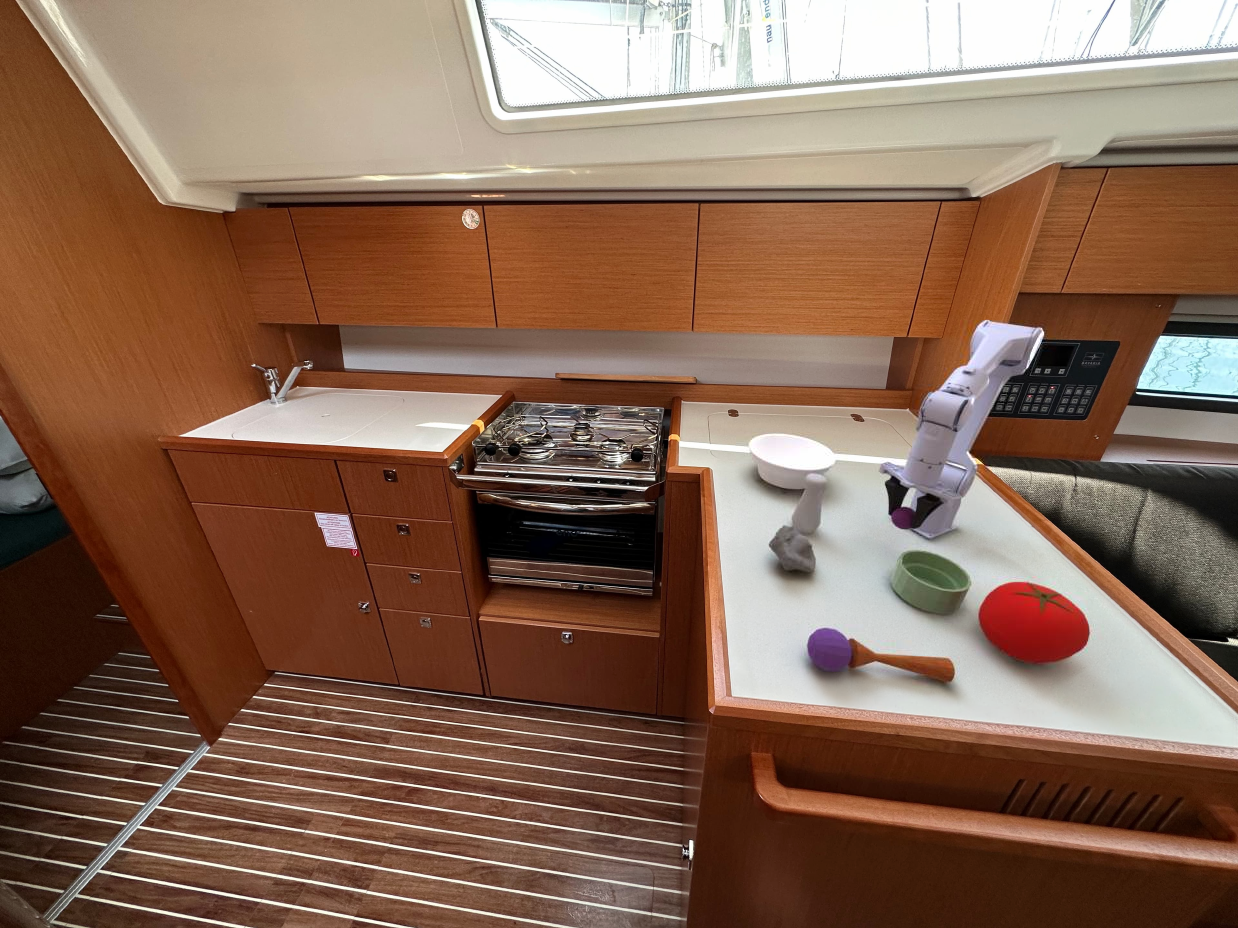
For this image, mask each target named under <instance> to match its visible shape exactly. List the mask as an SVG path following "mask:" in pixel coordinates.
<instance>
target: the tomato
mask: <svg viewBox="0 0 1238 928" xmlns="http://www.w3.org/2000/svg"><path fill="white" fill-rule="evenodd" d="M978 621H979V622H978V623H979V627H980V629H981V631H982V634H983V635H984V637H985V638H986V639H987V640H988V642H990V644H992V645H993V646H994V647H996V648H997V649H998V650H999V651H1000V652H1002V653H1004V654H1005V655H1006V656H1009V657H1011V658H1014V659H1016V660H1019V661H1022V662H1026V663H1031V664H1036V665H1037V664H1039V665H1041V664H1043V665H1044V664H1048V663H1049V664H1051V663H1057V662H1060V661H1064V660H1066V659H1068V658H1070V657H1073V656H1074V655H1075V654H1078V653H1080V652H1081V651H1082V650H1083V649H1084V648H1085V647H1086V646H1087V644H1088V642H1089V638H1090V634H1091V631H1090V624H1089V621H1088V619H1087V617H1086V615H1085V613H1084V612H1083V611H1082V610H1081V608H1079V607H1078V606H1077V605H1076V604H1075V603H1073V601H1071V600H1070V599H1069V598H1067V597H1066V596H1064V595H1063V593H1061V592H1058V591H1056V590H1054V589H1051V588H1049V587H1046V586H1044V585H1040V584H1037V583H1033V582H1030V581H1009V582H1006V583H1003V584H1001V585H1000V584H999V585H998V586H997V587H994V589H992V590H991V591H990V592H989V593H988V594H987V595H986V596H985V598H984V599H983V601H982V603H981V604H980V606H979V610H978Z"/></svg>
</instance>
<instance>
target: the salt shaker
mask: <svg viewBox="0 0 1238 928" xmlns="http://www.w3.org/2000/svg"><path fill="white" fill-rule="evenodd" d="M804 483H805V486H806V488H804V491H803V493H802V496H801V497H800V499H799V501H798V503H797V505H796V507H795V509H794V511H793V513H792V515H791V521H792V527H794V528H795V529H796V530H797V531H799V532H800V533H801V534H802V535H811V534H812V533H814V532H815V531H816V530H817V529H818V528H819V527H820V525H821V523H822V522H821V521H822V505H823V504H822V503H823V491H824V490H825V489H826V488H827V487H828V479H827V478H826V476H824V475H820V474H813V473H812V474H809V475H807V476H806V478H805V481H804Z"/></svg>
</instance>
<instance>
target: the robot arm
mask: <svg viewBox="0 0 1238 928" xmlns="http://www.w3.org/2000/svg"><path fill="white" fill-rule="evenodd" d="M1044 335H1045V332H1044V330H1043V328H1042V327H1031V326H1024V325H1018V324H1011V323H1003V322H997V321H990V319H985V320H983V321H982V322H980V323H979V324H978V325H977V327H976V328H975V331H974V332H973V334H972V337H971V341H970V343H969V344H970V345H969V347H970V350H969V359H970V360H969V361H968V363H967V364H966V365H962V366H959V367H957V368H955V369H954V370H953V372H952V373H951V374H950V375H949V377H948V378H947V379H946V380H945V381H944V383H943V384H942V385H941V386H940V387H939V389H938V390H937V389H936V390H935V391H934V392H933V391H930V392H929V393H928V394H926V396H925V398H924V399H923V401H922V403H921V406H920V408H919V411H918V416H917V423H916V426H915V430H916V433H915V437H914V440H913V443H912V446H911V449H910V452H909V454H908V457H907V460H906V462H905V465H904V466H901V465H898V464H896V463H892V462H890V461H885V462H881V464H880V466H879V470H878V473H880V474H883V475H885V474H886V475H888V476H890V478H889V479H887V480H885V482H884V487H885V489H886V493H887V501H888V509H887V510H888V511H887V515H888V516H890V517H891V515H892V513H893V511H894V510H895V509H897V508H899V507H903V506H902V505H903V503H904V500H905V498H906V496H907V494H908V492H909V490H910V489H915V492H914V494H913V497H912V499H911V502H910V505H909V508H911V509H913V510H914V511H915V515H914V517H913V520H912V522H911V526H910V527H911V529H910V530H912V531H913V532H916V533H917V534H919V535H921V536H922V537H924V538H926V539H928V540H931V539H934V538H936V537H939V536H942V535H944V534H946V533H950V532H951V531H955V530H956V526H954V525H953V522H954V521H955V518H956V516H957V513H958V511H959V509H960V507H961V503H962V499H964V498H965V497H966V495H967V494H968V492H969V491H970V489H971V487H972V485H973V484H974V483H973V482H974V480H975V477H976V474H977V473H978V469H979V467H978V463H977V462H976V460H975V459H974V458H973V455H971V453H970V451H971V450H972V447H973V445H974V443H975V441H976V439H977V437H978V435H979V434H980V432H981V429H982V428H983V426H984V424H985V422H986V420H987V418H988V416H989V414H990V413H991V410H992V409H993V407H994V404H995V403H996V401H997V399H998V397H999V395H1000V393H1001V391H1002V389H1003V387H1004V385H1006V384H1007V382H1008V381H1009V380H1010V379H1011V377H1014V376H1015V377H1016V376H1020V375H1024V373H1025V371H1026V370H1027V369H1028V368H1029V367H1030V366H1031V365H1030V364H1031V363H1032V361H1033V359H1034V358H1035V355H1036V353H1037V351H1038V349H1039V348H1040V345H1041V343H1042V340H1043V338H1044ZM951 463H952V464H951ZM954 464H955V465H954ZM957 465H958V466H957ZM960 466H961V467H960Z"/></svg>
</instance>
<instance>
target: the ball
mask: <svg viewBox="0 0 1238 928" xmlns="http://www.w3.org/2000/svg"><path fill="white" fill-rule="evenodd" d="M909 507H910V506H909ZM909 507H908V506H901V507H899V508H897V509H895V510H894V511H893V513H892V515H891V516H890V517H891V519H890V520H891V522H892V524H893V525H894V526H895V527H896V528H897V529H900V530H912V529H911V527H910V526H911V522H912V520H913V517H914V515H915V511H914V510H913V509H911V508H909Z"/></svg>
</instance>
